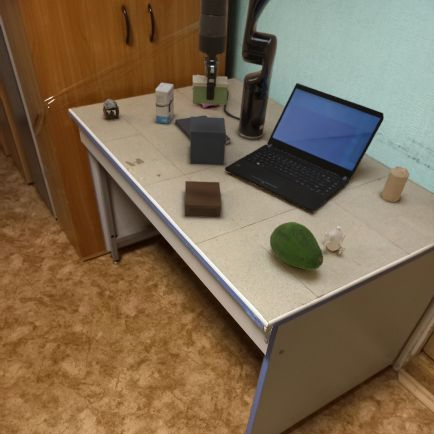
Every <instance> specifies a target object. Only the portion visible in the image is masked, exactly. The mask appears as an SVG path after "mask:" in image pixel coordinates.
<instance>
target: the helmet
mask: <svg viewBox="0 0 434 434" xmlns="http://www.w3.org/2000/svg"><path fill="white" fill-rule="evenodd" d="M102 106H103V107H102V112H103V115H104V117H105V119H107V120H109V114H110V115H114V114H115V116H116V118H117V119H118V118H119V116H120V108H119V106H118V103H117V102H116V101H115V100H114V99H113V98H107V99H106V100H105V101H104V102H103V103H102Z"/></svg>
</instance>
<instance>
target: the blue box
mask: <svg viewBox="0 0 434 434" xmlns="http://www.w3.org/2000/svg"><path fill="white" fill-rule="evenodd" d="M190 117H191V129H190V139H189V164H190V165H191V164H192V165H218V166H219V165H220V166H223V165H224V161H225V151H226V144H225V139H226V135H227V131H226V122H225V117H213V116H212V117H211V116H207V117H197V116H190Z"/></svg>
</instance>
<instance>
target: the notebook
mask: <svg viewBox="0 0 434 434" xmlns="http://www.w3.org/2000/svg"><path fill="white" fill-rule="evenodd" d="M191 117H192V116H190V117H184V118H177V119H175V120H174V124H175V125H176V126H177V127H178V128H179V129H180V131H181V132H182V133H183V134H184V135H185V136H186V137H187V138H188V139H189V140H190V129H191ZM196 117H208V116H207V115H199V116H196ZM229 144H231V138H230V137H229V135H227V134H226V139H225V145H229Z"/></svg>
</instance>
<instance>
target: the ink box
mask: <svg viewBox="0 0 434 434" xmlns="http://www.w3.org/2000/svg"><path fill="white" fill-rule="evenodd" d="M174 85H175V84H173V83H167V82H160V83H159V84H158V85H157V87H156V88H155V90H154V94H155V95H154V97H155V98H154V99H155V122H156V123H159V124H166V125H168V124H169V123H170V122H171V121H172V119H173V118H174V116H175V115H174V114H175V111H174V109H175V108H174V107H175V105H174V101H175V100H174V98H175V97H174V91H175V89H174V88H175V87H174Z"/></svg>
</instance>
